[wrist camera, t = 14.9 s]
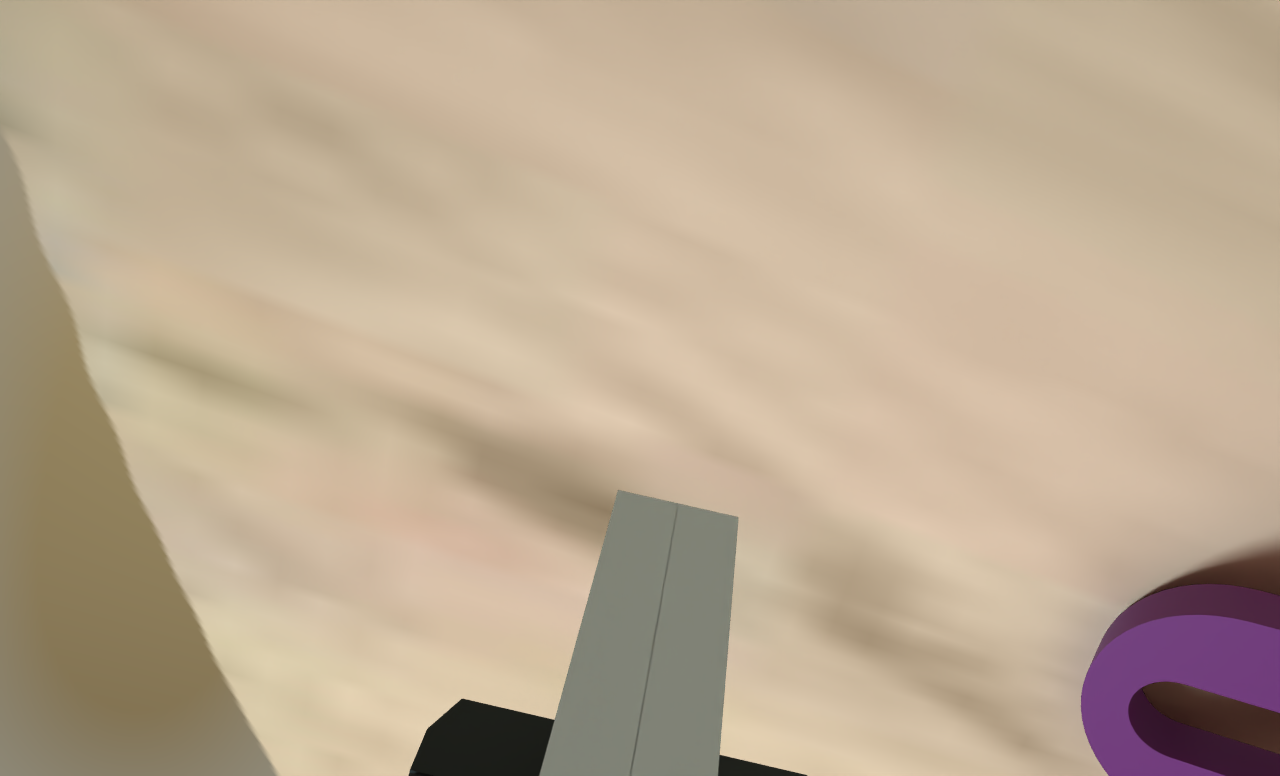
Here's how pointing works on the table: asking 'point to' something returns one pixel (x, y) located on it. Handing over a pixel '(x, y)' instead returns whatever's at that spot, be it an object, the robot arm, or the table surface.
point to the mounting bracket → (1183, 680)
